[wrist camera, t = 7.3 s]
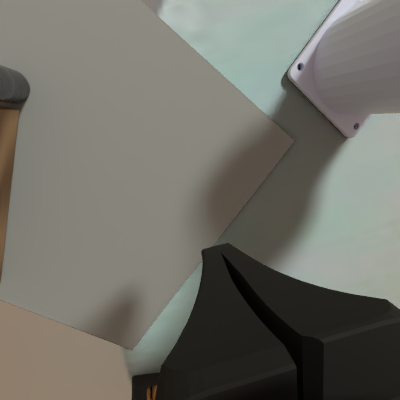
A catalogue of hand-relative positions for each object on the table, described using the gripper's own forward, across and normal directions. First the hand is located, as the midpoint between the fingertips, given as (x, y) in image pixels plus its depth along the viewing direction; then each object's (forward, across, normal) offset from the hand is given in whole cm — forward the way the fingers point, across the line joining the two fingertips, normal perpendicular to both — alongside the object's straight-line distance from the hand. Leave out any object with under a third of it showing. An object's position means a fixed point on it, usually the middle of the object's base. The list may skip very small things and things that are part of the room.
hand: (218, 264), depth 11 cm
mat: (+9, +7, -3) cm, 12 cm away
